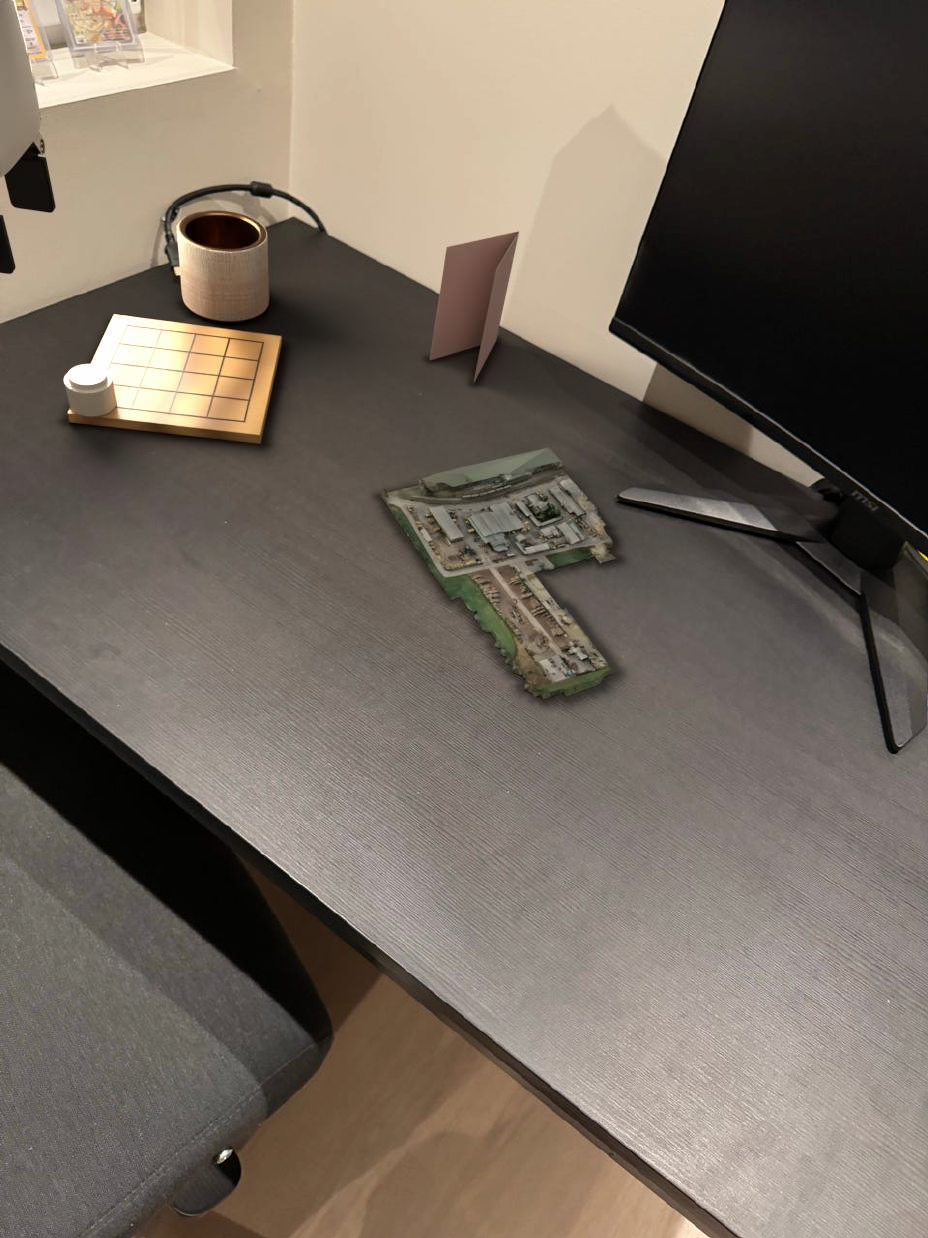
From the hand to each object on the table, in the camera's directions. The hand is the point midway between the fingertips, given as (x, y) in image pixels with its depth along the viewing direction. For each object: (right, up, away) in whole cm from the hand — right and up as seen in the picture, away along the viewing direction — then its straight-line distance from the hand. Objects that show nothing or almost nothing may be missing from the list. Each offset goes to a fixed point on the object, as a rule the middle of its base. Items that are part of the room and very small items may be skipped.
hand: (14, 237), depth 63 cm
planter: (+3, +13, +47) cm, 49 cm away
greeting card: (+35, +5, +48) cm, 59 cm away
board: (+1, -1, +35) cm, 35 cm away
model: (+41, -23, +24) cm, 53 cm away
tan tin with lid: (-6, -5, +28) cm, 29 cm away
